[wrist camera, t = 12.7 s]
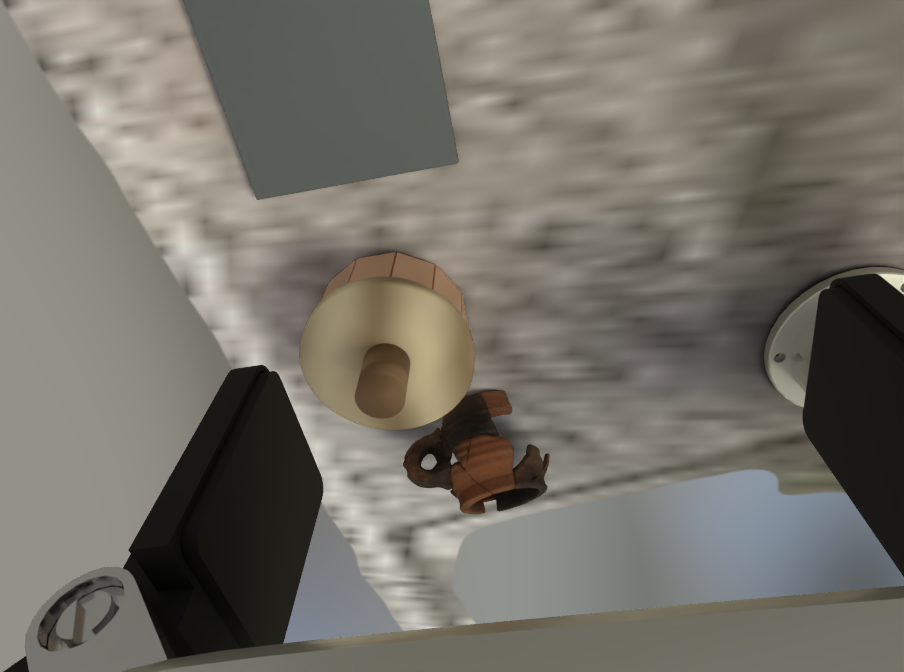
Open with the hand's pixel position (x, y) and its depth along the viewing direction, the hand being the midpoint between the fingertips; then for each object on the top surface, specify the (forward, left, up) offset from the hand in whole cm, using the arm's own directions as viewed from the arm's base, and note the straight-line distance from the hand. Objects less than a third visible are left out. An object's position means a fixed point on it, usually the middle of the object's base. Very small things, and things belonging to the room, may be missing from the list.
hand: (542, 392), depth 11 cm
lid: (+10, +16, -27) cm, 33 cm away
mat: (+10, -2, -32) cm, 34 cm away
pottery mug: (+6, +29, -33) cm, 44 cm away
